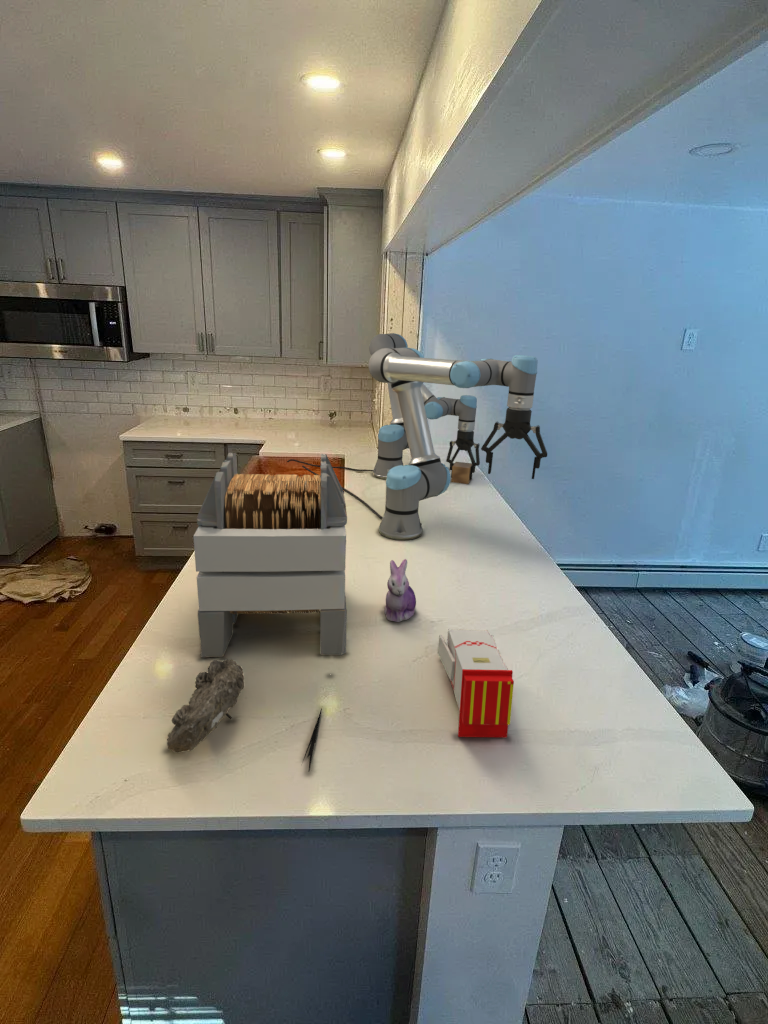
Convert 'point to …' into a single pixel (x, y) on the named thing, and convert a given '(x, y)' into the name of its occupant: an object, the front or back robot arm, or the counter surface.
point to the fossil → (206, 705)
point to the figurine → (399, 594)
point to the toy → (478, 682)
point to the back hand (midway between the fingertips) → (461, 478)
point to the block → (461, 472)
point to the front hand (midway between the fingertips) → (510, 475)
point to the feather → (313, 740)
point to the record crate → (271, 552)
